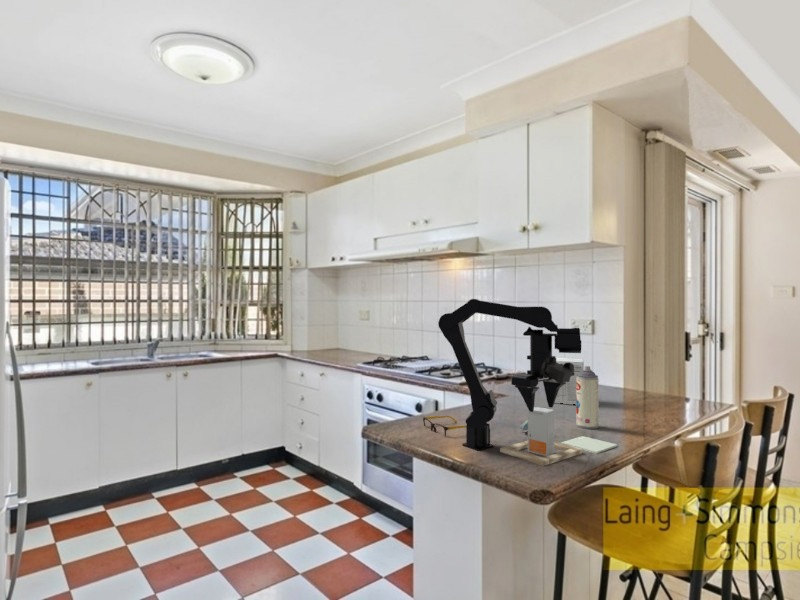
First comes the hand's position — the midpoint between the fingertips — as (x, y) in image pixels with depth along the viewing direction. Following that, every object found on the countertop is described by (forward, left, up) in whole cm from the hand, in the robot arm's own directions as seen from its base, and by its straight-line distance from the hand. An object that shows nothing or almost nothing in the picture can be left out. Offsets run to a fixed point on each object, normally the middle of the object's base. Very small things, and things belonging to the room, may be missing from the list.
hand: (541, 409), depth 130 cm
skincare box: (0, 0, -12) cm, 12 cm away
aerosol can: (+36, +8, -12) cm, 39 cm away
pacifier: (+14, +14, -13) cm, 24 cm away
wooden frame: (0, 0, -12) cm, 12 cm away
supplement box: (+67, +36, -12) cm, 77 cm away
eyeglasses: (-3, +32, -13) cm, 35 cm away
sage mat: (+17, -4, -12) cm, 21 cm away
